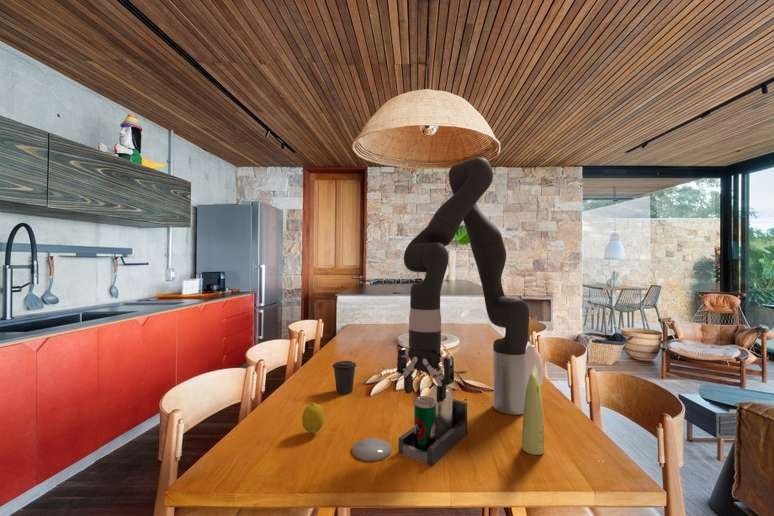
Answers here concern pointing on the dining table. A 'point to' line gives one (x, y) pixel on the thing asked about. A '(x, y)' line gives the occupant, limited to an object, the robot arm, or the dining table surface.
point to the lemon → (313, 418)
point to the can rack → (441, 444)
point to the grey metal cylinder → (443, 412)
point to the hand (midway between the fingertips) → (424, 396)
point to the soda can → (424, 422)
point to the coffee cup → (344, 376)
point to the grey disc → (371, 449)
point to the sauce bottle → (533, 363)
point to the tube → (533, 417)
